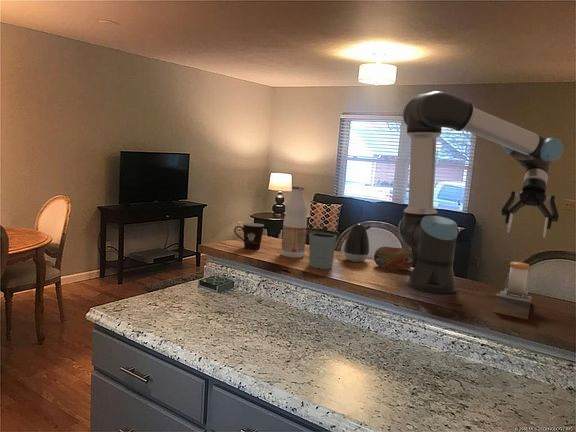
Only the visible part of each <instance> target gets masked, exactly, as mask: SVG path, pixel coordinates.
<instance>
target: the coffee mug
mask: <svg viewBox="0 0 576 432" xmlns="http://www.w3.org/2000/svg"><path fill="white" fill-rule="evenodd" d="M242 225H243V226H241V225H238V226H235V227H234V230H233V232H234V234H235V235H236V237H238V239H240V240H241V241H242V242H243V243H244V244H243V245H244V247H243V248H244V249H245V250H249V249H250V250H251V251H258V250H260V248H261V243H262V238H263V233H264V227H265V224H262V223H256V222H255V223H254V222H245V223H243V224H242ZM238 228H240V229H241V230H242V231H243V237H241V236H240V235H239V234H238V233H237V231H236V229H238Z"/></svg>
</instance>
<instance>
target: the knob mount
mask: <svg viewBox="0 0 576 432" xmlns="http://www.w3.org/2000/svg"><path fill="white" fill-rule="evenodd" d="M528 292H529V291H526V290H525V293H524V294H522V298H519V297H520V296H517V295H512V294H508V293H509V291H508V290H507V287H504V290H500V292H499V293H498V292H497V293H496V294H495V299H494V306H493V313H496V314H501V315H505V316H510V317H515V318H518V319H519V318H520V319H525V320H529V313H530V309H531V303H532V296H528V295H529V293H528Z"/></svg>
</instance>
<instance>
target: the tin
mask: <svg viewBox="0 0 576 432" xmlns="http://www.w3.org/2000/svg"><path fill="white" fill-rule="evenodd" d="M373 260H374V262H375V264H376V265H377V266H378V267H379V268H382V269H387V270H388V269H390V270H398V271H407V270H409V269H410V268H411V267H413V265H414V262H415V255H414V254H413V252H412V251H411V250H409V249H408V248H405V247H404V248H403V247H394V246H386V245H385V246H381V247H378V248H377V249H376V250H375V252H374V255H373Z"/></svg>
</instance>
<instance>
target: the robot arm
mask: <svg viewBox="0 0 576 432" xmlns="http://www.w3.org/2000/svg"><path fill="white" fill-rule="evenodd" d="M402 110H403V111H402V120H403V122H404V124H405V125H406V135H407V136H409V138H410V154H409V156H410V157H409V159H410V160H409V180H408V181H409V185H408V201H407V202H408V203H407V207H406V208H405V209H403V217H402V219H400V221H399V222H398V229H397V230H398V235H399V237H400V239H401V240H402V241H403V242H404V243H405V244H406V245H407V246H408V247H411V248H414V249H416V250H417V253H416V254H417V255H416V263H415V264H414V267H413V269H412V271H411V274H410V276H409V277H408V285H409V286H410V287H411V288H413V289H416V290H419V291H421V292H422V291H423V292H427V293H431V294H443V295H445V294H453V293H455V292H456V288H457V287H456V286H457V283H456V281H455V274H454V268H453V267H454V259H455V252H456V244H457V237H458V234H459V233H458V224H457V223H456V221H455V220H453V219H450V218H448V217H443V216H440V215H439V216H438V210H436V209H435V208H434V198H435V197H434V194H435V176H436V159H437V157H436V156H437V139H438V138H439V137H440V136H441V134H442V128H446V129H451V130H454V131H457V132H460V131H466V132H468V133H471V134H473V135H476V136H478V137H480V138H484V139H485V140H488V141H490V142H493V143H495V144H498V145H501V147H502V150H503V151H504V152H505V153H506V154H507V155H508V156H510V157H511V158H512V159H513V160H514V161H515V162H516V163H518V164H519V165H521V167H523V168H524V169H525V173H524V177H523V182H522V188H521V191H520V192H519V193H517V192H515V190H514V191H513V190H512V191H511V193H510V196H509V198H508V200H507V201H506V202H505V204H504V205H503V206H502V208H501V216H505V222H504V223H505V224H507V229H506V233H507V234H508V233H509V234H510V232H511V228H512V227H511V226H512V222H513V217H514V214H516V213H517V212H518V211H520V210H521V209H522V208H523V207H525V206H531V207H532V206H533V207H537V209H538V210H540V212H541V213H542V215H543V217H544V218H545V219H544V220H545V221H544V226H543V233H542V238H543V239H545V238H546V236H547V230H551V227H552V223H553V222H555V223H558V221H559V217H560V214H559V212H558V209H557V206H556V202H555V200H556V196H555V195H551V196H549V195H548V196H547V195H546V192H547V185H548V180H549V172H550V167H551V164H552V162H554V161H557V160H559V159H560V158H561V156H562V155H563V153H564V144H563V142H562V141H561V140H560V139H558V138H555V137H545V136H543V135H540V134H537V133H536V132H533V131H530V130H528V129H525V128H523V127H521V126H519V125H516V124H515V123H512V122H509V121H506V120H504V119H501V118H499V117H498V116H495V115H492V114H489V113H487V112H485V111H482V110H480V109H478V108H476V107H475V106H474V104H473V102H470V101H468V100H465V99H463V98H461V97H459V96H456V95H454V94H451V93H448V92H446V91H440V90H438V91H437V90H434V91H431V92H427V93H422V94H421V93H420V94H418V95H415V96H413V97H412V98H410V99H409V100H408V101H406V104H405V105H404V107H403V109H402ZM518 198H519V200H518V201H517V199H518ZM515 200H516V201H517V202H516V203H515ZM545 201H547V203H548V205H549V208H550V209H548V207H547V206H546V204H545V203H544V202H545ZM514 203H515V204H514ZM513 204H514V205H513ZM512 205H513V206H512Z"/></svg>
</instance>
